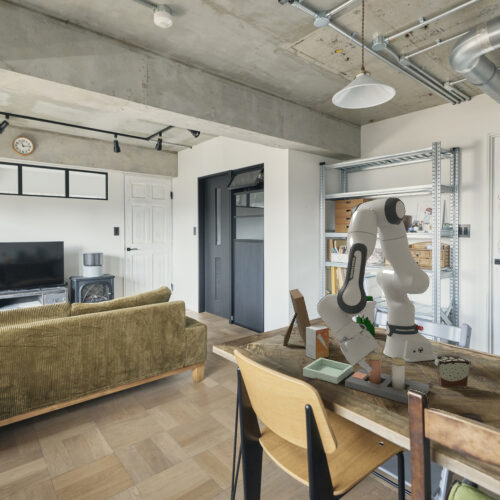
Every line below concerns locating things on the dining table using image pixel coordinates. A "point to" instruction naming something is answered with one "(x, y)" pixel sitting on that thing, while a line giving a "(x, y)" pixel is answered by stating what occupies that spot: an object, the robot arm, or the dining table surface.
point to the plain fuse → (398, 373)
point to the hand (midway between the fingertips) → (375, 366)
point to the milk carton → (368, 316)
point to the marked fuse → (375, 368)
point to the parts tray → (327, 370)
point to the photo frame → (298, 316)
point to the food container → (452, 370)
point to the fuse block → (383, 386)
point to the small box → (317, 341)
